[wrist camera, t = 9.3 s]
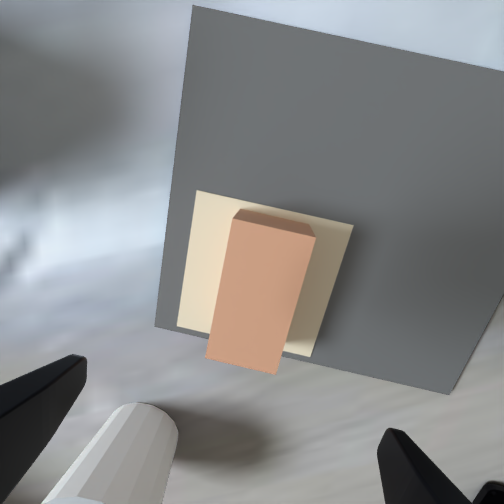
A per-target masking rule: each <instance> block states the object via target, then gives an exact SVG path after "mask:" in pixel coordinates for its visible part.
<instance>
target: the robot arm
mask: <svg viewBox="0 0 504 504" xmlns="http://www.w3.org/2000/svg"><path fill="white" fill-rule="evenodd" d="M86 379H87V359H86V357H84V356H80V355H75V354H72V355H68V356H66V357H64V358H62V359H59V360H57V361H55V362H52V363H50V364H48V365H46V366H43V367H41V368H39V369H36V370H34V371H32V372H30V373H27V374H25V375H23V376H20V377H18V378H16V379H14V380H11V381H9V382H7V383H4V384H2V385H0V504H2V503H3V502H4V501H5V499H6V498H7V497H8V496H9V494H10V493H11V492H12V490H13V489H14V488H15V486H16V485H17V484H18V482H19V481H20V480H21V478H22V477H23V476H24V474H25V473H26V472H27V470H28V469H29V468H30V467H31V465H32V464H33V463H34V461H35V460H36V459H37V457H38V456H39V455H40V453H41V452H42V451H43V449H44V448H45V447H46V445H47V444H48V442H49V441H50V440H51V438H52V437H53V435H54V434H55V432H56V431H57V429H58V427H59V426H60V424H61V423H62V421H63V419H64V418H65V416H66V415H67V413H68V411H69V410H70V408H71V407H72V405H73V403H74V402H75V400H76V399H77V397H78V395H79V394H80V392H81V391H82V389H83V387H84V385H85V383H86ZM377 458H378V464H379V469H380V475H381V481H382V487H383V493H384V498H385V504H504V486H500V485H496V484H486V485H484V486H483V488H482V489H481V491H480V492H479V494H478V495H477V497H476V498H475V500H474V501H473V503H471V502H470V501H469V500H468V499H467V497H466V496H465V495H464V494H463V493H462V492H461V491H460V490H459V489H458V488H457V487H456V486H455V485H454V484H453V483H452V482H451V481H450V480H449V479H448V477H447V476H446V475H445V474H444V473H443V472H442V471H441V470H440V469H439V468H438V467H437V466H436V465H435V464H434V463H433V462H432V461H431V460H430V458H429V457H428V456H427V455H426V454H425V453H424V452H423V451H422V450H421V449H420V448H419V447H418V446H417V445H416V444H415V443H414V442H413V441H412V439H411V438H410V437H409V436H408V435H407V434H406V433H405V432H403V431H402V430H398V429H394V428H388V429H387V430H386V431H385V433H384V435H383V437H382V440H381V442H380V444H379V446H378V449H377Z"/></svg>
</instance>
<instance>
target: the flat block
mask: <svg viewBox="0 0 504 504" xmlns="http://www.w3.org/2000/svg"><path fill="white" fill-rule="evenodd" d="M315 240H316V236H315V234H314V232H313V231H312V229H311V227H310V225H309V224H306V223H301V222H297V221H292V220H288V219H284V218H279V217H275V216H271V215H266V214H262V213H257V212H253V211H249V210H244V209H239V211H238V212H237V213H236V214H235V216H234V217H233V218H232V223H231V228H230V233H229V238H228V243H227V249H226V254H225V259H224V264H223V269H222V274H221V279H220V284H219V289H218V295H217V300H216V305H215V310H214V315H213V320H212V325H211V330H210V336H209V341H208V346H207V351H206V356H205V358H207V359H211V360H216V361H220V362H224V363H228V364H233V365H237V366H241V367H245V368H249V369H254V370H258V371H262V372H266V373H271V374H275V375H276V372H277V369H278V365H279V362H280V359H281V355H282V352H283V348H284V345H285V342H286V338H287V335H288V332H289V328H290V325H291V321H292V318H293V315H294V311H295V308H296V304H297V301H298V298H299V294H300V291H301V287H302V284H303V281H304V277H305V274H306V271H307V267H308V264H309V260H310V257H311V254H312V250H313V247H314V243H315Z"/></svg>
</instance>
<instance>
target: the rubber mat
mask: <svg viewBox="0 0 504 504" xmlns="http://www.w3.org/2000/svg"><path fill="white" fill-rule="evenodd" d="M239 209H244V210H249V211H253V212H257V213H262V214H266V215H271V216H275V217H279V218H284V219H288V220H292V221H297V222H301V223H306V224H309V225H310V227H311V229H312V231H313V232H314V234H315V236H316V240H315V243H314V247H313V250H312V254H311V257H310V260H309V264H308V267H307V271H306V274H305V277H304V281H303V284H302V287H301V291H300V294H299V298H298V301H297V304H296V308H295V311H294V315H293V318H292V321H291V325H290V328H289V332H288V335H287V338H286V342H285V345H284V348H283V352H282V355H281V356H283V357H287V358H292V359H296V360H300V361H305V362H309V363H313V364H317V365H322V366H326V367H330V368H335V369H339V370H343V371H348V372H352V373H356V374H360V375H365V376H369V377H373V378H378V379H382V380H386V381H391V382H395V383H399V384H403V385H408V386H412V387H416V388H421V389H425V390H429V391H434V392H438V393H442V394H446V395H449V394H450V393H451V391H452V389H453V387H454V385H455V383H456V382H457V380H458V378H459V376H460V374H461V372H462V370H463V369H464V367H465V365H466V363H467V361H468V359H469V357H470V356H471V354H472V352H473V350H474V348H475V346H476V345H477V343H478V341H479V339H480V337H481V335H482V333H483V332H484V330H485V328H486V326H487V324H488V322H489V320H490V319H491V317H492V315H493V313H494V311H495V309H496V308H497V306H498V304H499V302H500V300H501V298H502V296H503V295H504V72H503V71H498V70H493V69H489V68H484V67H479V66H475V65H470V64H465V63H461V62H456V61H451V60H447V59H442V58H437V57H433V56H428V55H423V54H419V53H414V52H409V51H405V50H400V49H395V48H391V47H386V46H381V45H377V44H372V43H367V42H363V41H358V40H353V39H349V38H344V37H339V36H335V35H330V34H325V33H321V32H316V31H311V30H307V29H302V28H297V27H293V26H288V25H283V24H279V23H274V22H269V21H265V20H260V19H256V18H251V17H246V16H242V15H237V14H232V13H228V12H223V11H218V10H214V9H209V8H204V7H200V6H195V5H193V8H192V16H191V24H190V33H189V41H188V49H187V58H186V66H185V75H184V83H183V91H182V100H181V108H180V117H179V125H178V133H177V142H176V150H175V158H174V167H173V175H172V184H171V192H170V200H169V209H168V217H167V225H166V234H165V242H164V251H163V259H162V267H161V276H160V284H159V292H158V301H157V309H156V318H155V326H154V327H158V328H163V329H167V330H171V331H176V332H180V333H184V334H189V335H193V336H197V337H201V338H206V339H209V336H210V330H211V325H212V320H213V315H214V310H215V305H216V300H217V295H218V289H219V284H220V279H221V274H222V269H223V264H224V259H225V254H226V249H227V243H228V238H229V233H230V228H231V223H232V218H233V217H234V216H235V214H236V213H237V212H238V211H239Z"/></svg>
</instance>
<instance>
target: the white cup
mask: <svg viewBox="0 0 504 504" xmlns="http://www.w3.org/2000/svg"><path fill="white" fill-rule="evenodd" d="M177 442H178V430H177V427H176V425H175V422H174V421H173V420H172V419H171V418H170V417H169V415H168V414H167V413H166V412H164V411H163V410H161V409H159V408H157V407H155V406H153V405H150V404H144V403H139V402H137V403H130V404H124V405H123V406H121V407H119V408H118V409H116V410H115V411H114V412H113V414H112V415H111V416H110V417H109V419H108V420H107V421H106V422H105V424H104V425H103V426H102V427H101V429H100V430H99V431H98V432H97V434H96V435H95V436H94V438H93V439H92V440H91V441H90V443H89V444H88V445H87V446H86V448H85V449H84V450H83V451H82V453H81V454H80V455H79V456H78V458H77V459H76V460H75V462H74V463H73V464H72V465H71V467H70V468H69V469H68V470H67V472H66V473H65V474H64V475H63V477H62V478H61V479H60V480H59V482H58V483H57V484H56V486H55V487H54V488H53V489H52V491H51V492H50V493H49V494H48V496H47V497H46V498H45V499H44V501H43V502H42V503H41V504H162V501H163V497H164V493H165V489H166V486H167V482H168V478H169V474H170V470H171V466H172V462H173V458H174V454H175V450H176V446H177Z"/></svg>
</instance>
